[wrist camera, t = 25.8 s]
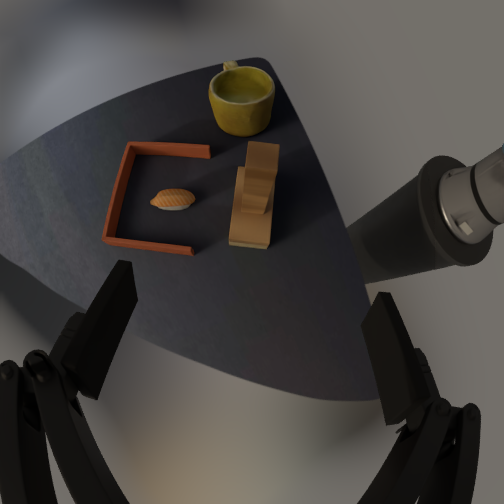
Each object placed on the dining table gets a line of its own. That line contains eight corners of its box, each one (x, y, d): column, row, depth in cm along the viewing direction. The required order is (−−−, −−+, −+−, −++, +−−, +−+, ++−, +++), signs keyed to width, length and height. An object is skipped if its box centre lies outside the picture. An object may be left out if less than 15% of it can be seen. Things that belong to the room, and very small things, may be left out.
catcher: (211, 155, 40) (209, 145, 37) (193, 255, 37) (190, 251, 34) (133, 151, 40) (127, 141, 37) (110, 245, 37) (101, 240, 34)
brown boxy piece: (237, 177, 40) (241, 109, 25) (272, 181, 40) (292, 116, 25) (229, 245, 38) (226, 204, 23) (266, 249, 38) (287, 212, 23)
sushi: (196, 210, 38) (193, 203, 36) (152, 213, 38) (146, 206, 35) (196, 193, 39) (193, 184, 36) (152, 196, 38) (147, 188, 36)
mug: (288, 137, 39) (274, 86, 30) (223, 153, 42) (197, 108, 33) (276, 90, 44) (263, 46, 35) (222, 105, 46) (201, 64, 37)
